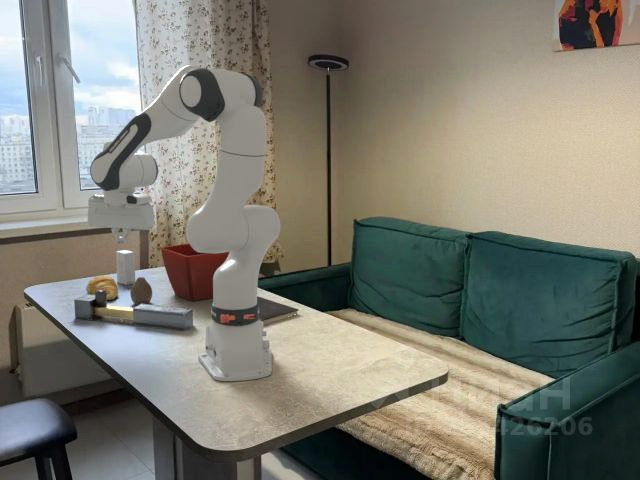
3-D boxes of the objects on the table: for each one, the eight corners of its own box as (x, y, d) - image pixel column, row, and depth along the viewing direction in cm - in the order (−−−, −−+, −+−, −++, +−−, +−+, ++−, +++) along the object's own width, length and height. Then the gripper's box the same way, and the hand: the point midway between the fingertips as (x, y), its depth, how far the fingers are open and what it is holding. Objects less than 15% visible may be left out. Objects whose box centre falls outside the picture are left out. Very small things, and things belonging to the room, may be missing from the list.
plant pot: (160, 293, 205) (159, 246, 201) (207, 284, 217) (207, 240, 214) (188, 306, 191) (187, 256, 188) (236, 296, 203) (236, 249, 200)
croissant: (121, 310, 196) (131, 288, 197) (94, 301, 190) (104, 278, 191) (100, 294, 212) (110, 274, 213) (74, 285, 206) (84, 265, 207)
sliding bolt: (156, 318, 174) (155, 294, 173) (150, 321, 171) (149, 297, 170) (91, 311, 179) (90, 288, 178) (85, 314, 176) (84, 290, 175)
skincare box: (136, 283, 217) (134, 251, 215) (126, 285, 214) (124, 253, 211) (126, 280, 220) (125, 249, 218) (116, 282, 217) (115, 251, 215)
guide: (193, 324, 173) (193, 305, 172) (184, 331, 167) (184, 311, 166) (87, 312, 182) (86, 294, 180) (75, 318, 176) (74, 299, 175)
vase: (146, 307, 188) (145, 281, 187) (126, 305, 190) (125, 279, 188) (156, 301, 195) (155, 276, 193) (137, 299, 196) (136, 274, 195)
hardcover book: (251, 300, 200) (251, 294, 200) (298, 316, 185) (298, 309, 185) (214, 310, 189) (214, 303, 189) (260, 327, 174) (260, 320, 173)
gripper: (81, 195, 168) (84, 242, 170) (145, 199, 163) (146, 247, 165) (94, 193, 174) (97, 239, 176) (156, 196, 169) (158, 243, 171)
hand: (121, 243), depth 171 cm, fingers closed
